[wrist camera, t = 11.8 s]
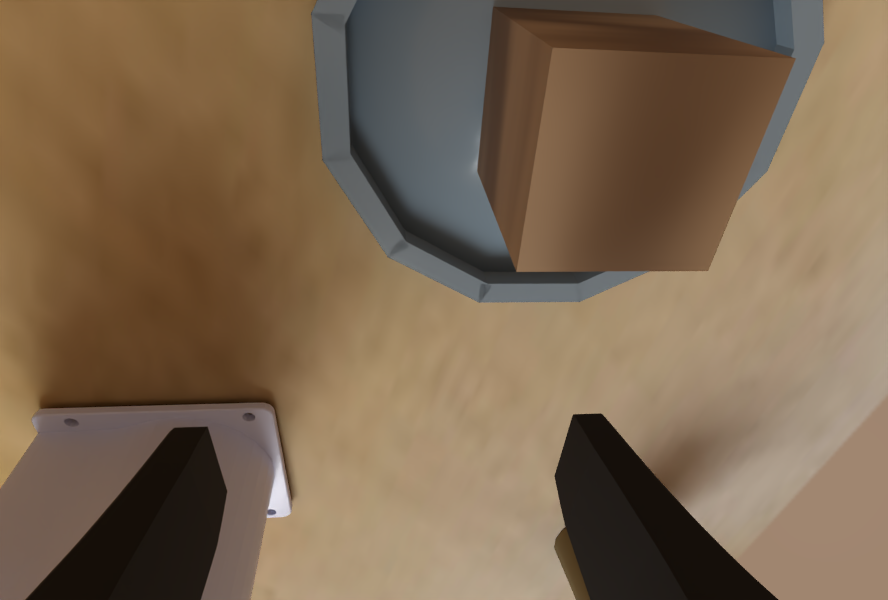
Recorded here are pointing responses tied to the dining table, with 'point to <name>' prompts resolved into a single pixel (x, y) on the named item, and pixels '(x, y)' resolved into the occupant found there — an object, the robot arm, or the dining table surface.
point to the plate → (460, 119)
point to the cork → (570, 565)
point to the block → (619, 137)
